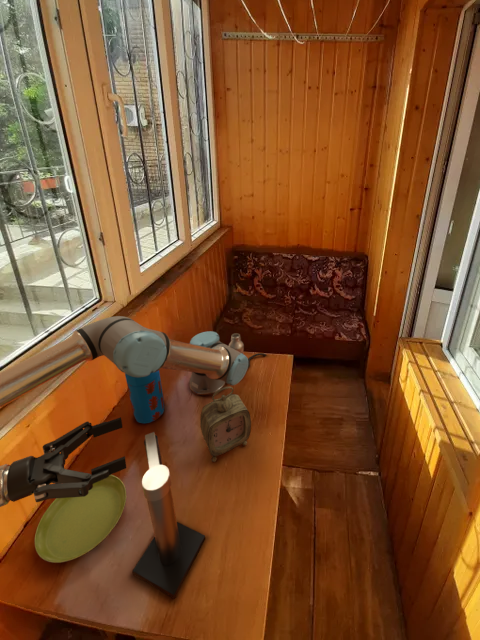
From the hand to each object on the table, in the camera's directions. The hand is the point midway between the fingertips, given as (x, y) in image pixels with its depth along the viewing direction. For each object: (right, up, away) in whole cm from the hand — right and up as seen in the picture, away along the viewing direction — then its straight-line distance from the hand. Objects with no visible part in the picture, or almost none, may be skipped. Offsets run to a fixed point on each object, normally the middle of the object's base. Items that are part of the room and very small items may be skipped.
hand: (123, 440), depth 76 cm
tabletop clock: (+20, -19, +29) cm, 40 cm away
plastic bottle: (+18, -7, +62) cm, 65 cm away
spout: (+8, -22, +4) cm, 24 cm away
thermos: (-12, -14, +42) cm, 46 cm away
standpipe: (+11, -29, +1) cm, 31 cm away
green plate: (-14, -26, +8) cm, 31 cm away
